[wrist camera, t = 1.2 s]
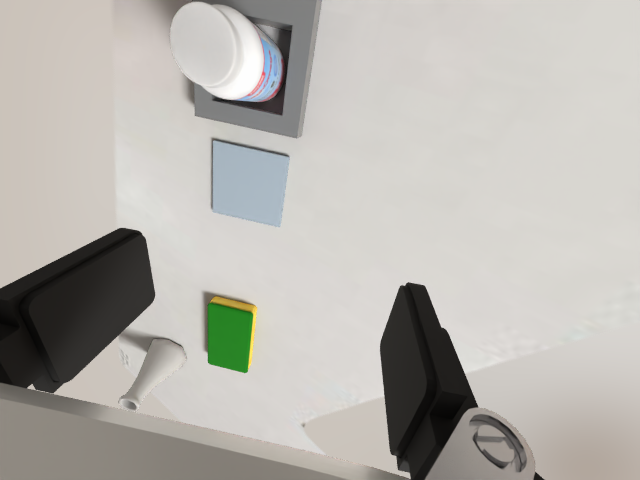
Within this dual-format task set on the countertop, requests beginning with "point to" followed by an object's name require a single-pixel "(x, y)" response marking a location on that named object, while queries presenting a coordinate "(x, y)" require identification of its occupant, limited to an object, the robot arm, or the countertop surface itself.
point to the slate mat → (249, 183)
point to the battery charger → (302, 19)
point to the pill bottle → (226, 53)
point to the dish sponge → (231, 333)
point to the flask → (154, 371)
